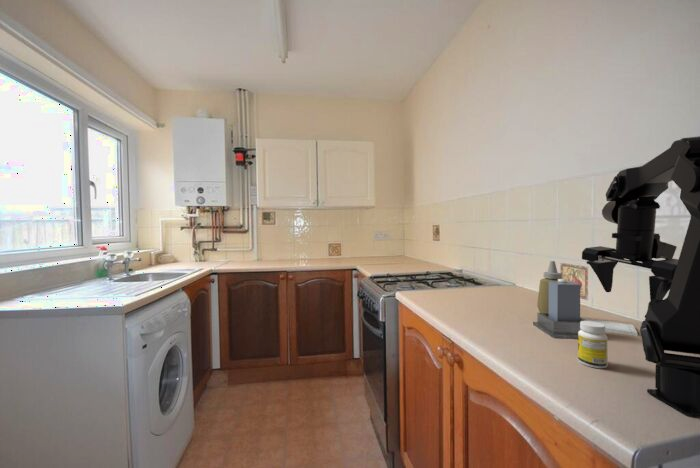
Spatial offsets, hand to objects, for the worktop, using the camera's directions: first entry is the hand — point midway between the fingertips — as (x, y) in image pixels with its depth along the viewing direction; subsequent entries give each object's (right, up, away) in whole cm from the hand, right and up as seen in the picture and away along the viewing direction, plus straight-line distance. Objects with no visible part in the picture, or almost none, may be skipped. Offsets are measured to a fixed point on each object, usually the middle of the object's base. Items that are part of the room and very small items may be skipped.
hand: (629, 298), depth 64 cm
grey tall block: (-3, -12, +15) cm, 19 cm away
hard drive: (+11, -13, +19) cm, 25 cm away
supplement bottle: (-11, -13, -4) cm, 18 cm away
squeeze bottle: (+1, -12, +27) cm, 29 cm away
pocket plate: (-3, -12, +15) cm, 20 cm away
